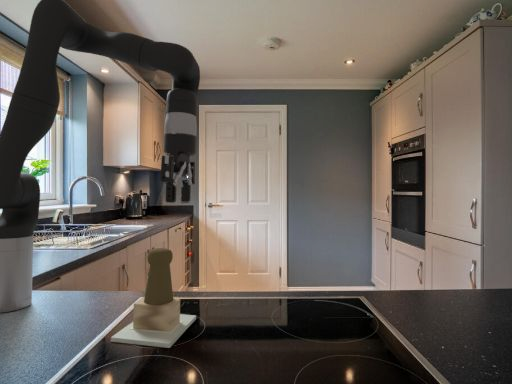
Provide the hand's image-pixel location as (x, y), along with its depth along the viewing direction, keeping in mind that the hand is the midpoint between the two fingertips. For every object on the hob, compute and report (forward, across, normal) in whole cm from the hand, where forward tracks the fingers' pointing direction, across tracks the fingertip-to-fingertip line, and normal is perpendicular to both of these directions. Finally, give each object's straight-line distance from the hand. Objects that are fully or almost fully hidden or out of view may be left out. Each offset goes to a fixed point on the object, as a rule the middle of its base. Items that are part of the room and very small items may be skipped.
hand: (178, 202), depth 76 cm
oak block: (+26, +9, 0) cm, 27 cm away
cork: (+21, +8, 0) cm, 23 cm away
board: (+27, +9, 0) cm, 28 cm away
